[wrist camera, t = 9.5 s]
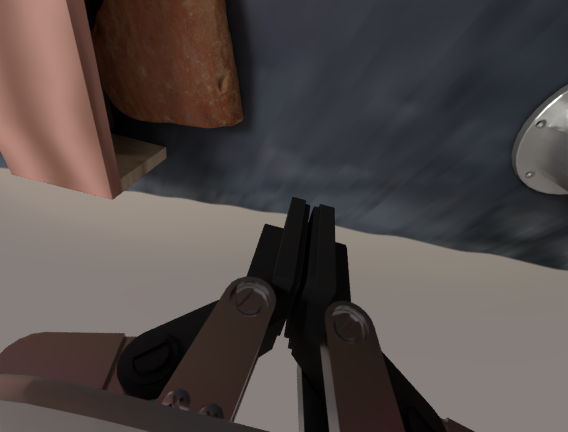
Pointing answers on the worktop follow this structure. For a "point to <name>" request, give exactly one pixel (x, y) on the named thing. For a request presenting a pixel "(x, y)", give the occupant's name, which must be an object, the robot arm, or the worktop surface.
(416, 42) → the worktop surface
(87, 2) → the overhang bay
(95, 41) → the ceramic shard
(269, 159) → the worktop surface
